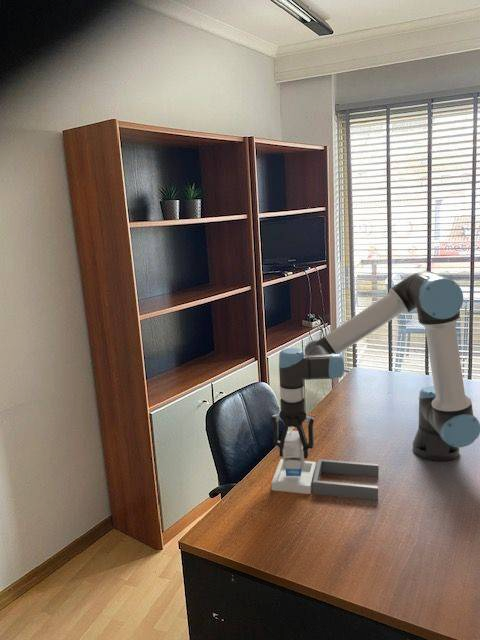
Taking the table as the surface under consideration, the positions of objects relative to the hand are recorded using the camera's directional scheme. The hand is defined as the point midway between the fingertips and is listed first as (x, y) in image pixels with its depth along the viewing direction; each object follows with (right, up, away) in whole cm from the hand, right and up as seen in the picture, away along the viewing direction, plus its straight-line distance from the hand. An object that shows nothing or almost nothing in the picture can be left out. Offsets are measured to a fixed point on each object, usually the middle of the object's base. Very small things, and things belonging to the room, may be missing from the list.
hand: (294, 465), depth 164 cm
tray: (0, -5, +1) cm, 5 cm away
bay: (+17, -5, -3) cm, 18 cm away
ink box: (0, -2, 0) cm, 1 cm away
